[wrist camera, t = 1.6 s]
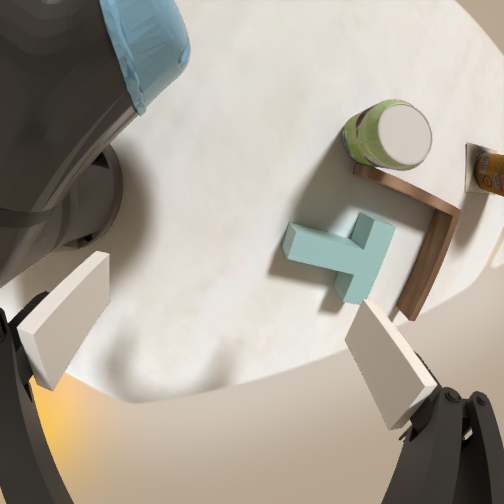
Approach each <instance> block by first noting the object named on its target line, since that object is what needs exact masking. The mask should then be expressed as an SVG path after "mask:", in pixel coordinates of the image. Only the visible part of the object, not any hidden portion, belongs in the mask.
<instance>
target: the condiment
mask: <svg viewBox="0 0 504 504" xmlns="http://www.w3.org/2000/svg"><path fill="white" fill-rule="evenodd" d="M466 156H467V158H466V182H465V184H466V186H465V192H476V193H486V194H494V195H495V194H497V195H501V196H503V197H504V155H499V154H497V151H496V150H492V149H489V148H485V147H482V146H478V145H475V144H471V143H467V155H466ZM473 178H474V179H475V180H474V179H473Z"/></svg>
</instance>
